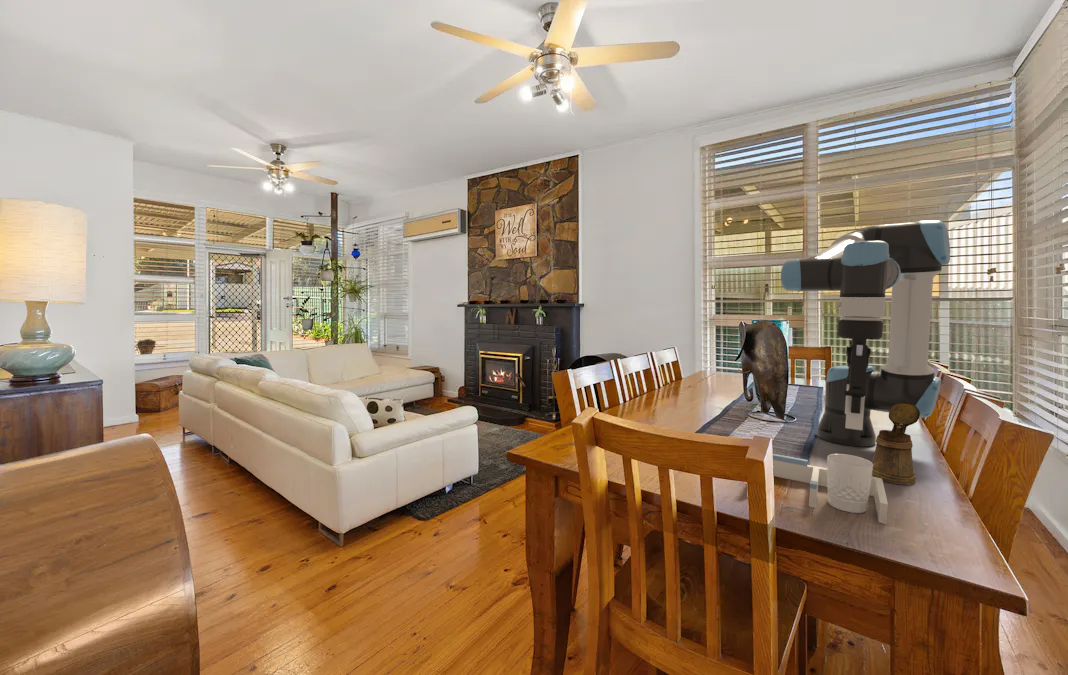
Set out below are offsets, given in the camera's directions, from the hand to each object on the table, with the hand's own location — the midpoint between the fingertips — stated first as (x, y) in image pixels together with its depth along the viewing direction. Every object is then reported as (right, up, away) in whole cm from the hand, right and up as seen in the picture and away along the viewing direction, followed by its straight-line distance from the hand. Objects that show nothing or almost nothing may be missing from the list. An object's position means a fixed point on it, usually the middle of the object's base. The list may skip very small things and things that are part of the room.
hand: (852, 421), depth 93 cm
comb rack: (-4, -18, +7) cm, 19 cm away
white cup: (0, -18, +2) cm, 19 cm away
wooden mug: (+23, -17, +18) cm, 34 cm away
